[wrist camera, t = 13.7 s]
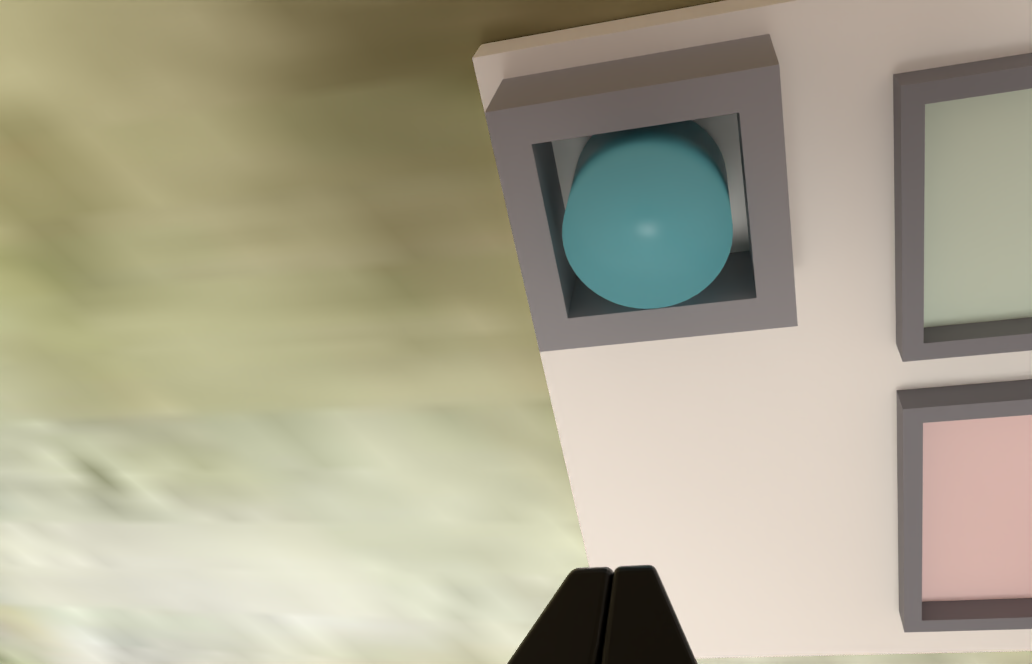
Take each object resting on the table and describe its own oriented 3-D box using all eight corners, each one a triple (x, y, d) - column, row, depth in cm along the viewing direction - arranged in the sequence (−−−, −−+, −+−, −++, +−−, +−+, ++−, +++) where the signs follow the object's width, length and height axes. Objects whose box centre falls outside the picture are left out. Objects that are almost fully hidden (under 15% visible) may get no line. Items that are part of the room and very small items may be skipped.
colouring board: (1506, -140, 15) (1674, -119, 12) (1295, 612, 23) (1371, 717, 21) (481, 44, 19) (450, 89, 16) (612, 632, 27) (606, 722, 25)
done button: (719, 98, 18) (724, 142, 16) (733, 241, 19) (740, 299, 17) (562, 123, 18) (547, 168, 16) (588, 259, 20) (577, 317, 18)
